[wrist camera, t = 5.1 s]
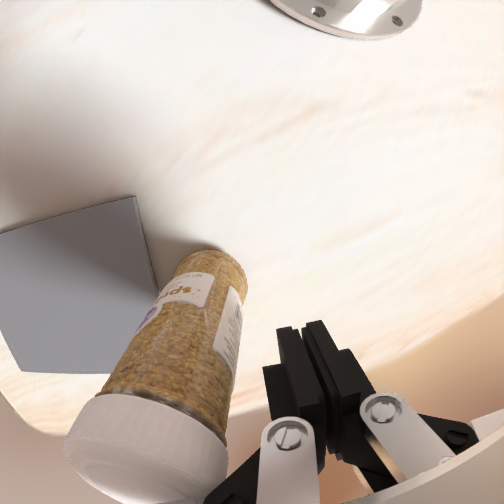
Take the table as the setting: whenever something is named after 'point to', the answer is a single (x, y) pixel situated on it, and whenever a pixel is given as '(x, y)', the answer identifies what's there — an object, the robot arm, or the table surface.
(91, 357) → the mat
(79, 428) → the sprinkles bottle
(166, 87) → the table surface
